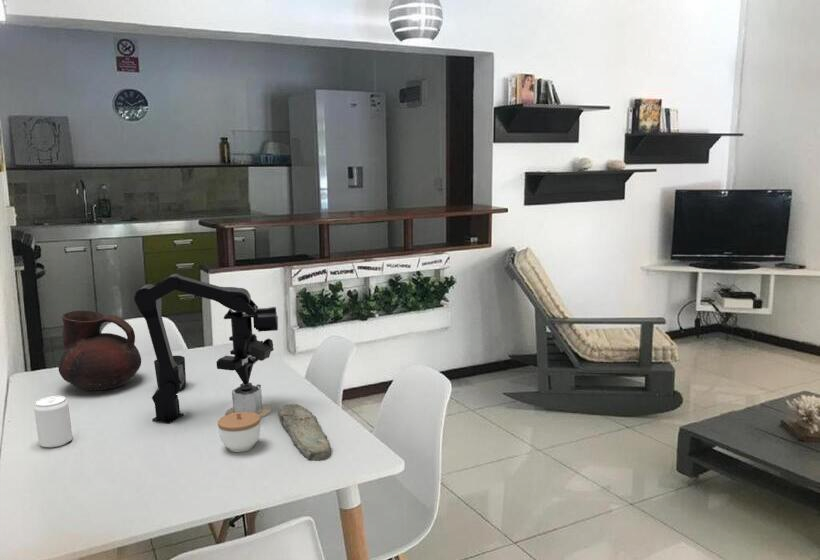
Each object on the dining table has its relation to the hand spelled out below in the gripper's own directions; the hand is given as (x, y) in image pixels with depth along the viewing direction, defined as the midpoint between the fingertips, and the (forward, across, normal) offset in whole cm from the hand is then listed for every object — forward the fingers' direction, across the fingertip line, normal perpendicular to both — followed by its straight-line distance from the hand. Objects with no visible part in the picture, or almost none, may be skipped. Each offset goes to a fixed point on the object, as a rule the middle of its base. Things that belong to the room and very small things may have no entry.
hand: (246, 383), depth 200 cm
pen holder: (+9, +10, +36) cm, 38 cm away
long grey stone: (+10, -9, -24) cm, 27 cm away
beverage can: (+9, -34, +38) cm, 52 cm away
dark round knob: (+6, 0, 0) cm, 6 cm away
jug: (+9, +6, +61) cm, 62 cm away
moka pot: (+9, 0, 0) cm, 9 cm away
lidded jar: (+9, -21, -12) cm, 26 cm away
